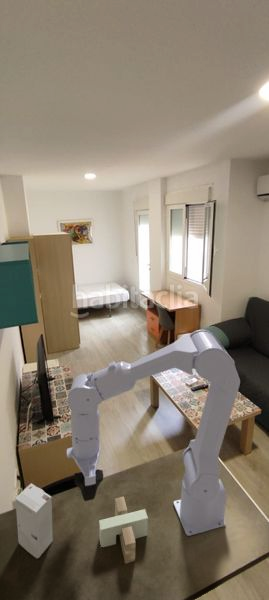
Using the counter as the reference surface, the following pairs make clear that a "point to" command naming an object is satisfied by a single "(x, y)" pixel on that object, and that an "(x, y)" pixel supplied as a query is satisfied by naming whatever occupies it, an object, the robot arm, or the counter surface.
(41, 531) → the skincare box
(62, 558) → the counter surface
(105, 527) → the slotted plate
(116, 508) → the wooden notched block
